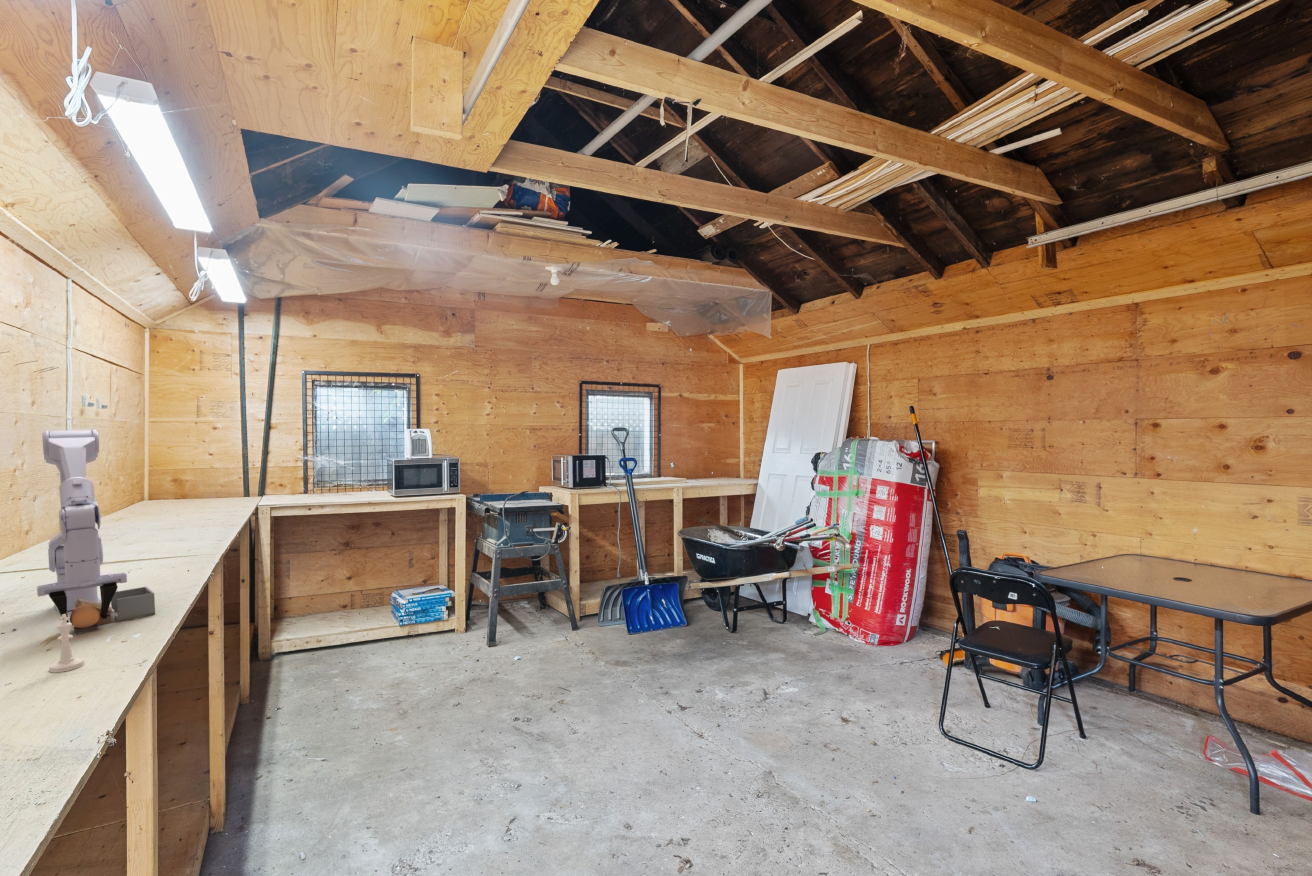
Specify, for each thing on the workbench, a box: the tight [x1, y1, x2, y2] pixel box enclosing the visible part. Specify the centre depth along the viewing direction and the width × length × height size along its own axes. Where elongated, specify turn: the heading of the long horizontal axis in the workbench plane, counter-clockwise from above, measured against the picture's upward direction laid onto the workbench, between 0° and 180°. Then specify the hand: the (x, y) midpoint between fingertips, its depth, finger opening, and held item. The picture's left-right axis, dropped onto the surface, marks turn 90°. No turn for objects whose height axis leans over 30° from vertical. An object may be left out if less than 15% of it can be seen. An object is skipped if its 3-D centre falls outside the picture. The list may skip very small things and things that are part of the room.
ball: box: [69, 605, 100, 628], centre depth 141 cm, size 5×5×5 cm
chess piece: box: [48, 614, 85, 673], centre depth 120 cm, size 5×5×10 cm
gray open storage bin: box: [110, 586, 156, 622], centre depth 152 cm, size 9×7×5 cm
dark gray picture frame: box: [73, 624, 99, 635], centre depth 141 cm, size 4×4×1 cm
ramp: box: [75, 599, 116, 626], centre depth 147 cm, size 8×6×5 cm
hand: (85, 621), depth 141 cm, fingers open, 6 cm apart
